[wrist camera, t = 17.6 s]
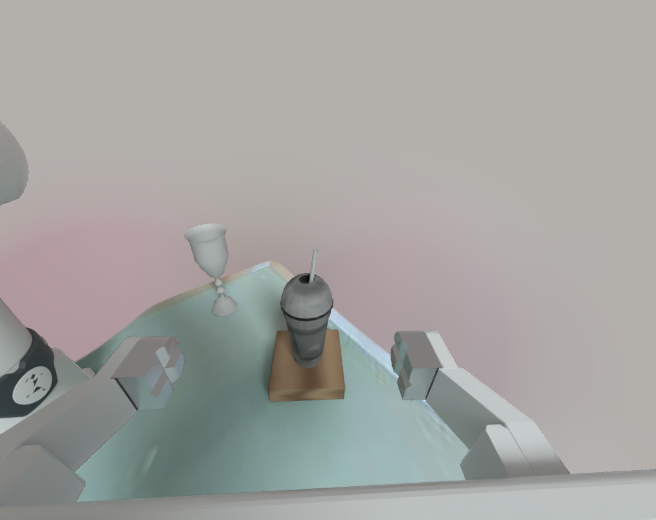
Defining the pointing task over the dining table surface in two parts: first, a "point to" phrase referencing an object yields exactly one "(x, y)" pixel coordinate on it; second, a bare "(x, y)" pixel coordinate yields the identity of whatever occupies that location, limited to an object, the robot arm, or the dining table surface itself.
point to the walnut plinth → (306, 372)
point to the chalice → (212, 260)
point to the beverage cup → (307, 315)
